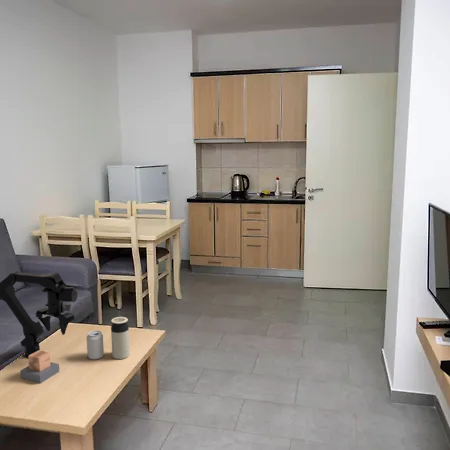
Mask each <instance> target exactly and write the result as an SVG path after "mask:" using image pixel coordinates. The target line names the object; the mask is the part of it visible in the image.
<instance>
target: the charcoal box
mask: <svg viewBox="0 0 450 450" xmlns="http://www.w3.org/2000/svg"><path fill="white" fill-rule="evenodd" d="M19 372H20V379H23V380H26V381H30V382H34V383H37V384H42V383H43V382H46V381H47V380H49V379H50V378H51V377H53V376H55V375H56V374H58V373H60V363H56V362H51V361H50V366H49V367H47V368H45V369H44V370H42V371H36V370H32V369H29V365H28V366H25V367H24V368H22V369H21V370H20V371H19Z"/></svg>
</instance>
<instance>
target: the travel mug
mask: <svg viewBox="0 0 450 450" xmlns="http://www.w3.org/2000/svg"><path fill="white" fill-rule="evenodd" d="M110 321H111V326H110V331H111V333H110V335H111V356H112V358H113V359H115V360H116V359H117V360H123V359H126V358H129V356H130V334H129V332H130V331H129V330H130V329H129V328H130V327H129V326H130V325H129V324H128V318H127V317H124V316H116V317H114V318H112V319H111V320H110Z"/></svg>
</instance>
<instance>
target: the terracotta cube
mask: <svg viewBox="0 0 450 450" xmlns="http://www.w3.org/2000/svg"><path fill="white" fill-rule="evenodd" d="M28 357H29V358H28V366H29V369H32V370H36V371H42V370H44V369H45V368H47V367H49V366H50V362H51V353H50V352H49V351H44V350H41V349H40V350H38V351H37V352H35V353H33V354H31V355H29V356H28Z"/></svg>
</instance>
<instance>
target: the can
mask: <svg viewBox="0 0 450 450" xmlns="http://www.w3.org/2000/svg"><path fill="white" fill-rule="evenodd" d="M104 346H105V345H104V335H103V333H102V331H101V330H91V331H89V332H88V333H87V335H86V353H87V358H89V360H100V359H102V357H104V355H105V350H104Z"/></svg>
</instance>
